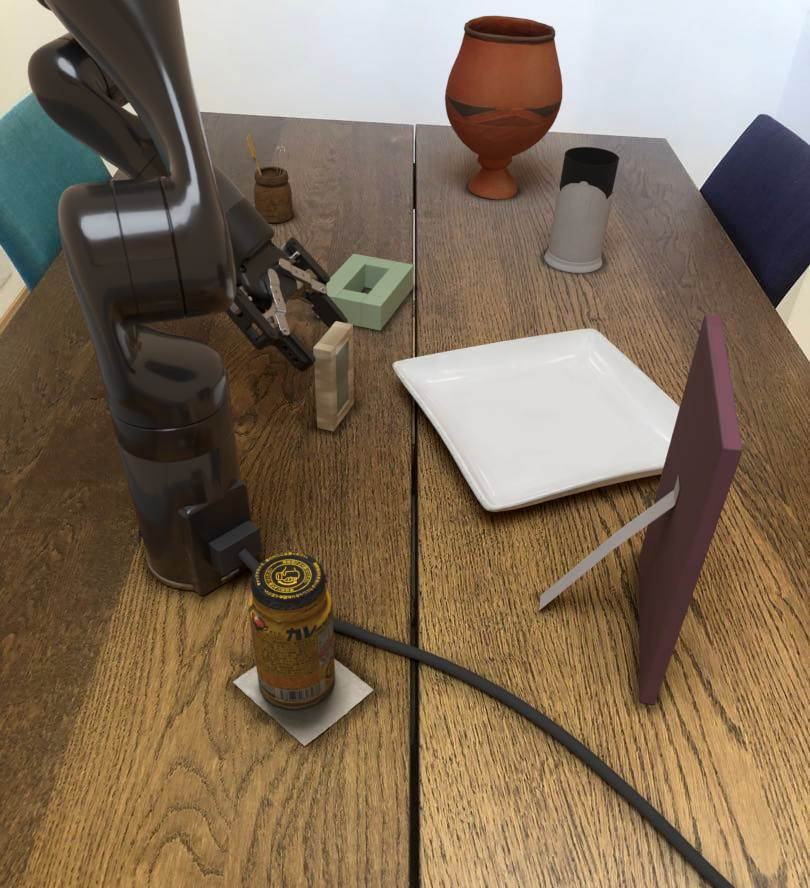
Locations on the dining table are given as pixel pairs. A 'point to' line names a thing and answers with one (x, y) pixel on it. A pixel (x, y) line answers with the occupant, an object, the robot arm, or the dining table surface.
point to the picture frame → (679, 508)
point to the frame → (334, 375)
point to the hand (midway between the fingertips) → (326, 346)
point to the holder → (376, 274)
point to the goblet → (503, 95)
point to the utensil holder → (272, 190)
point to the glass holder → (582, 209)
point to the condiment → (297, 649)
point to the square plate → (543, 415)
